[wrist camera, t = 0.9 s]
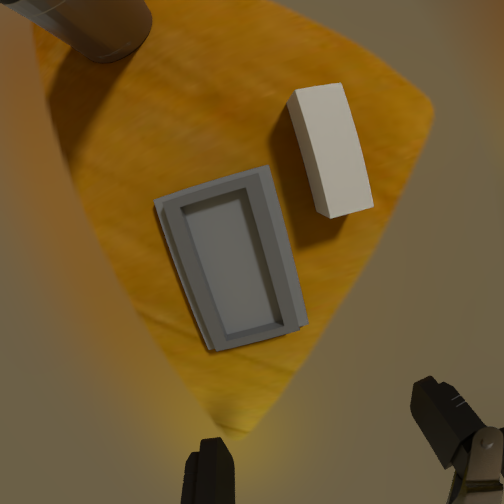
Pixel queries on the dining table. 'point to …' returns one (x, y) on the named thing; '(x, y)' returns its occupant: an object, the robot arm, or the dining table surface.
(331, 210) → the off-white tapered block
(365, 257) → the dining table surface
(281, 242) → the cradle
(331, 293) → the dining table surface
